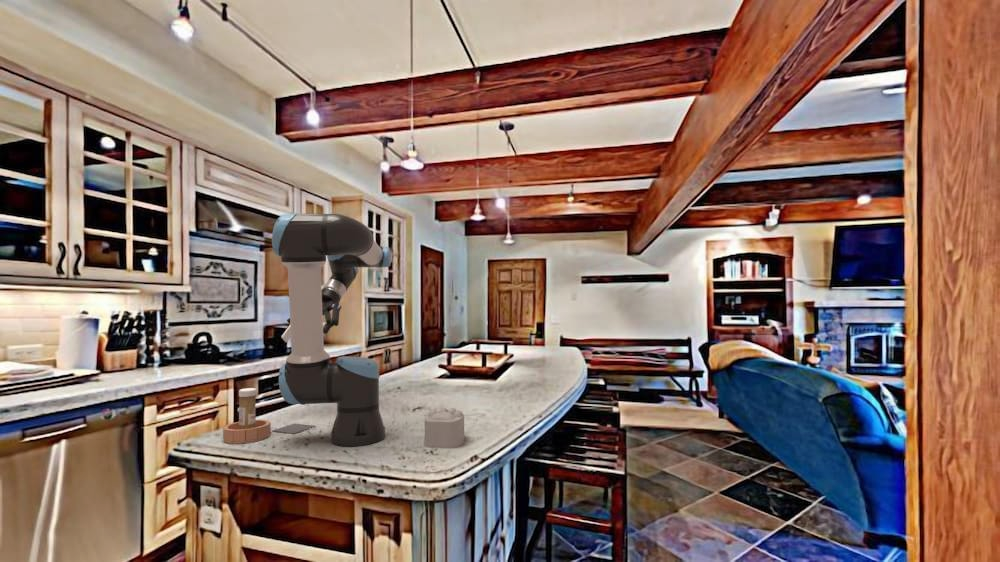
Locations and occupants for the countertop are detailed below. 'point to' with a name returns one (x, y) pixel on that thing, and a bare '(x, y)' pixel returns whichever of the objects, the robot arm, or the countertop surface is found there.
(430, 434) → the lumpy-topped squat cylinder
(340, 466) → the countertop surface
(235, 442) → the terracotta bowl
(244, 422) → the sprinkles bottle
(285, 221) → the robot arm
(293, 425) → the rubber mat
